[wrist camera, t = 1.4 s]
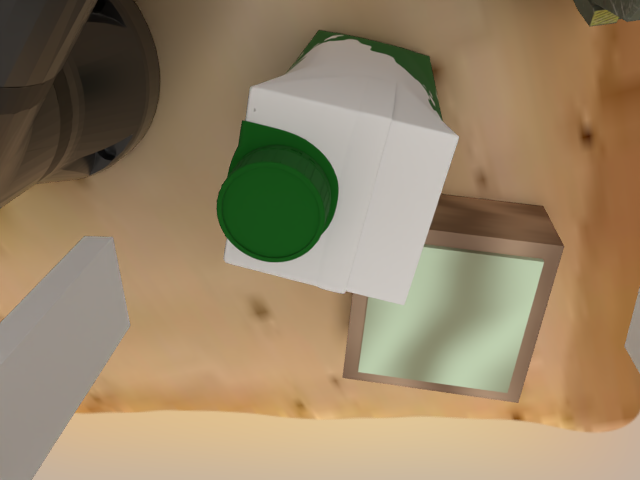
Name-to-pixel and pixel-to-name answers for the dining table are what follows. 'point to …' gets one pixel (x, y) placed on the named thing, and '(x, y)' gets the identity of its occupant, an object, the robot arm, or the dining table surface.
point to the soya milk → (339, 169)
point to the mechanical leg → (608, 11)
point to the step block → (463, 304)
